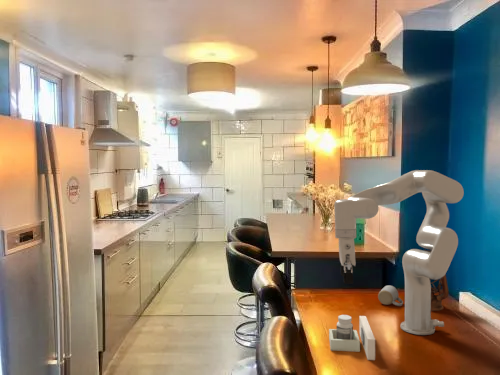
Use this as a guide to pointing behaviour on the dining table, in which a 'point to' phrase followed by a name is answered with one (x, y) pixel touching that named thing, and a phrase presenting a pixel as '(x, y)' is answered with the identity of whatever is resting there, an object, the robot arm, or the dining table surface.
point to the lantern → (437, 299)
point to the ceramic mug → (389, 296)
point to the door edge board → (367, 337)
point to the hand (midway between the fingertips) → (346, 279)
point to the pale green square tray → (344, 342)
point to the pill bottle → (344, 327)
